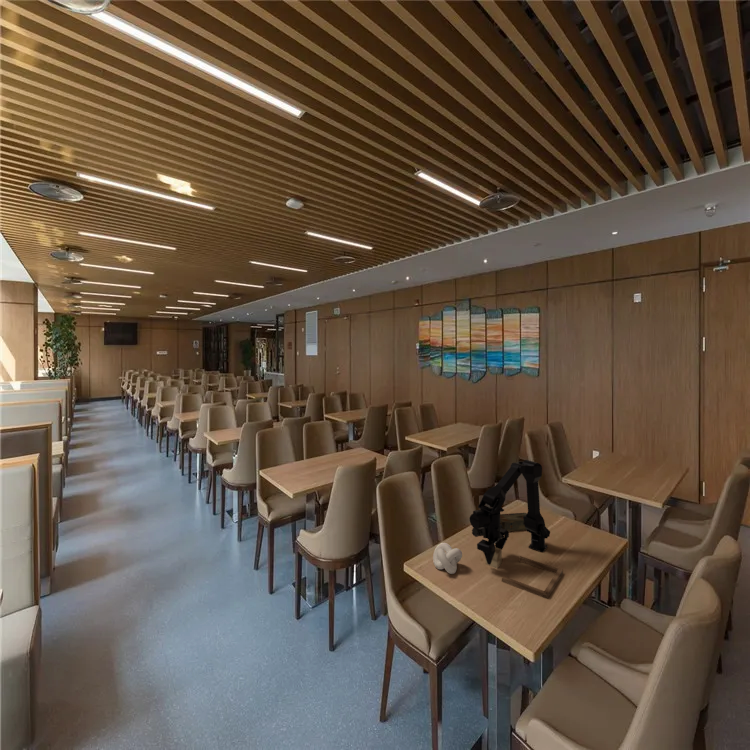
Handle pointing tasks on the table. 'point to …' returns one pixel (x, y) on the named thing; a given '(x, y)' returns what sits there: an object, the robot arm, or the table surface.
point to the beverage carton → (512, 521)
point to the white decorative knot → (446, 557)
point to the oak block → (496, 558)
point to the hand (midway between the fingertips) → (493, 559)
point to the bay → (534, 590)
